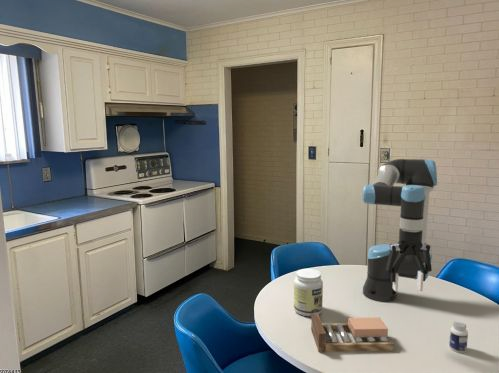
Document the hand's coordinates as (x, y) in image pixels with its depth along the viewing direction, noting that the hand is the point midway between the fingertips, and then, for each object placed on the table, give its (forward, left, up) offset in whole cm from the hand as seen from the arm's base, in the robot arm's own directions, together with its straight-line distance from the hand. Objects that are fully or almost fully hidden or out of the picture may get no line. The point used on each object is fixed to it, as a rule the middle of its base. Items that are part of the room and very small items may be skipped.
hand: (407, 289), depth 138 cm
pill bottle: (-16, +7, -20) cm, 26 cm away
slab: (+14, 0, -16) cm, 21 cm away
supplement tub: (+32, -23, -20) cm, 44 cm away
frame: (+19, 0, -19) cm, 27 cm away
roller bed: (+18, 0, -18) cm, 26 cm away
